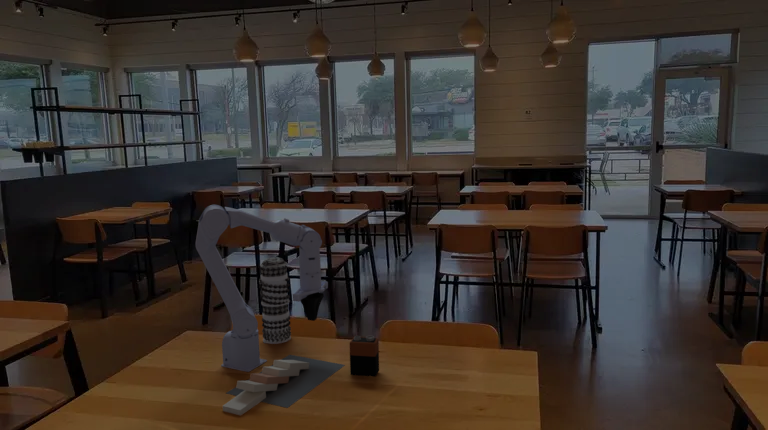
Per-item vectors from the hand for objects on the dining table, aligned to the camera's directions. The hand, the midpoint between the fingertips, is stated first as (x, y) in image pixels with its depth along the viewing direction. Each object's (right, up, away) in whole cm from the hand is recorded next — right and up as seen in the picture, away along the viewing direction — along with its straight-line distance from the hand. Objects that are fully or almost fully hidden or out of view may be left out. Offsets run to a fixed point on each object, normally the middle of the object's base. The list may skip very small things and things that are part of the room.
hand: (312, 319), depth 156 cm
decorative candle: (-12, -9, +14) cm, 21 cm away
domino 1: (-8, -12, -20) cm, 24 cm away
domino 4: (-4, -11, -12) cm, 16 cm away
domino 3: (-6, -12, -16) cm, 20 cm away
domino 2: (-10, -13, -24) cm, 29 cm away
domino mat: (-4, -13, -14) cm, 19 cm away
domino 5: (-2, -10, -8) cm, 13 cm away
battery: (+15, -12, -11) cm, 22 cm away
